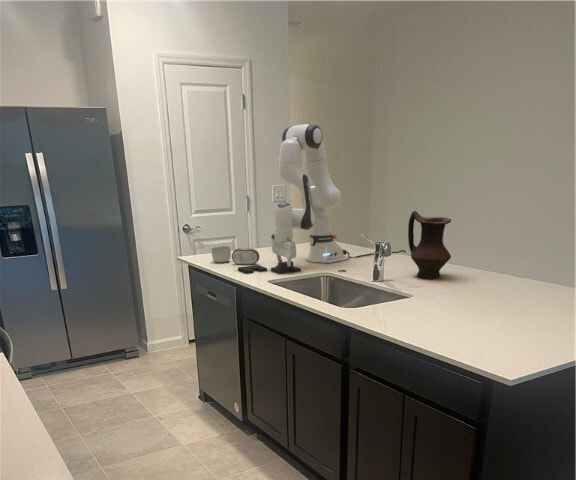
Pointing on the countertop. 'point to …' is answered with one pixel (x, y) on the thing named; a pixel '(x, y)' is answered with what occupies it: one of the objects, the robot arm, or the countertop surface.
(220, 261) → the teacup
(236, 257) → the tin
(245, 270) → the base pad
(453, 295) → the countertop surface
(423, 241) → the jug
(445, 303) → the countertop surface
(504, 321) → the countertop surface
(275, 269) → the loose pad
